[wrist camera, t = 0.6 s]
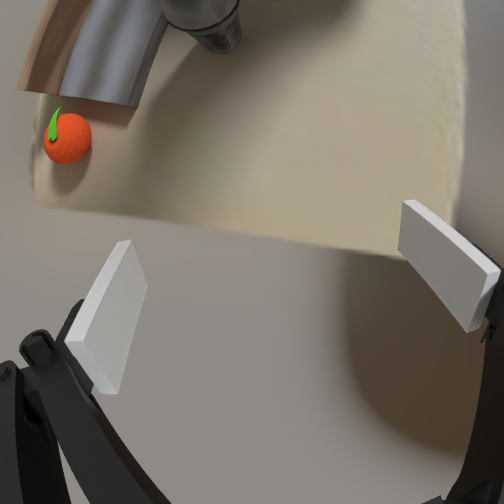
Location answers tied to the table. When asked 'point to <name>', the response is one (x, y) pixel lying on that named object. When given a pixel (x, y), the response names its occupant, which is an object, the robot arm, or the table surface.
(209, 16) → the beverage cup
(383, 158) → the table surface
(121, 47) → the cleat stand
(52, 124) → the clementine
